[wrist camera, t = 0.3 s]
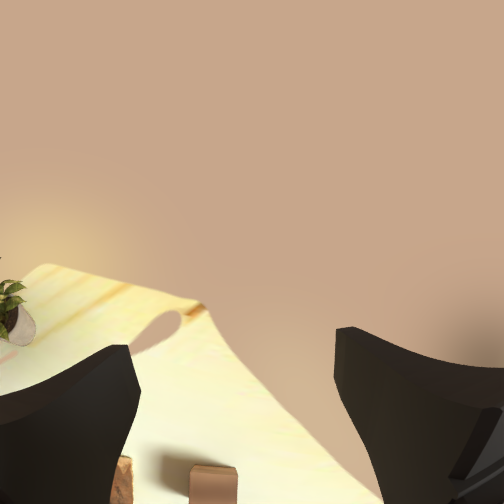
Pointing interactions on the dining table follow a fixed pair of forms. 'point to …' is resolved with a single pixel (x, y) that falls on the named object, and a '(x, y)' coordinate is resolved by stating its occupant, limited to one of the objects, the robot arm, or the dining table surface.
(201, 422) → the dining table surface
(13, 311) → the house plant
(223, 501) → the walnut block
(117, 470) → the shard
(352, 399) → the robot arm
